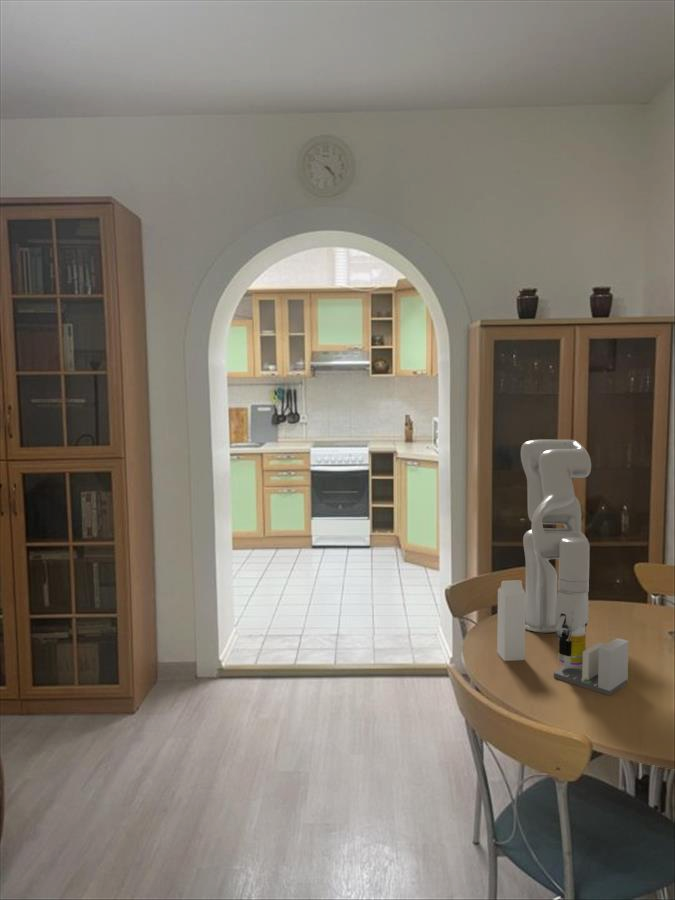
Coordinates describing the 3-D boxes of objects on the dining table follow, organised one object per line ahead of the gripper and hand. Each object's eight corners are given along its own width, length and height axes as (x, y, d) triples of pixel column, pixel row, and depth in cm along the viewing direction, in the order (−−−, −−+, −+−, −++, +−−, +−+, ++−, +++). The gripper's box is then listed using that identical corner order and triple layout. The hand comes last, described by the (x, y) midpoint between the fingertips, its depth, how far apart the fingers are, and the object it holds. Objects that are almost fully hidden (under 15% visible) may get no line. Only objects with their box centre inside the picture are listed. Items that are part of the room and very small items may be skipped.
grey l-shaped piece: (553, 677, 175) (554, 635, 174) (572, 666, 181) (573, 626, 181) (609, 695, 164) (610, 651, 163) (627, 683, 170) (628, 641, 170)
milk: (497, 653, 191) (497, 577, 190) (517, 652, 192) (517, 577, 190) (504, 661, 185) (504, 583, 184) (525, 660, 186) (526, 582, 184)
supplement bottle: (589, 663, 176) (590, 616, 175) (578, 671, 172) (579, 623, 170) (564, 657, 181) (565, 610, 180) (554, 664, 176) (555, 617, 175)
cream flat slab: (579, 679, 168) (579, 653, 168) (598, 668, 175) (599, 642, 175) (585, 681, 167) (585, 654, 167) (604, 669, 174) (605, 643, 174)
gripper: (576, 575, 183) (574, 638, 185) (543, 588, 171) (541, 656, 173) (602, 581, 178) (601, 646, 179) (570, 595, 166) (568, 664, 167)
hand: (572, 650), depth 176 cm, fingers closed on supplement bottle, 6 cm apart
